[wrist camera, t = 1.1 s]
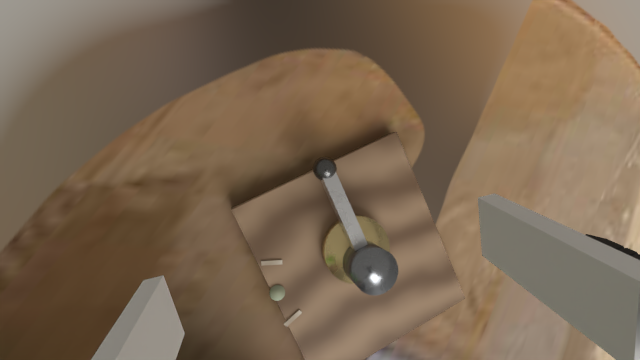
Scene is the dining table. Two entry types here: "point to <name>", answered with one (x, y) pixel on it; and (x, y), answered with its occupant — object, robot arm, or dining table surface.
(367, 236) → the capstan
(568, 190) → the dining table surface
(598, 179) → the dining table surface
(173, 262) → the dining table surface
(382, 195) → the board
